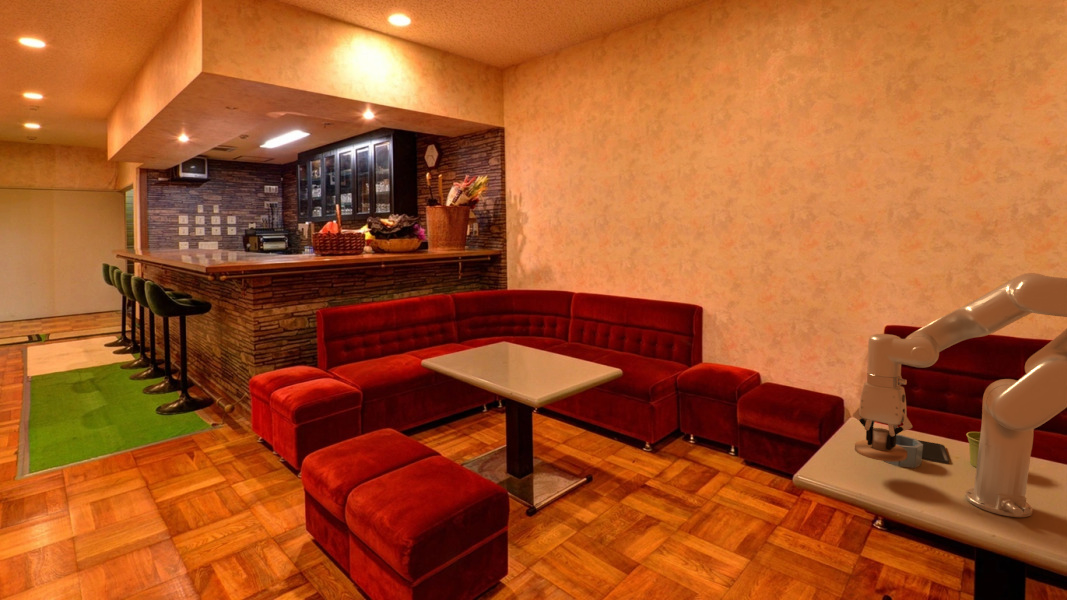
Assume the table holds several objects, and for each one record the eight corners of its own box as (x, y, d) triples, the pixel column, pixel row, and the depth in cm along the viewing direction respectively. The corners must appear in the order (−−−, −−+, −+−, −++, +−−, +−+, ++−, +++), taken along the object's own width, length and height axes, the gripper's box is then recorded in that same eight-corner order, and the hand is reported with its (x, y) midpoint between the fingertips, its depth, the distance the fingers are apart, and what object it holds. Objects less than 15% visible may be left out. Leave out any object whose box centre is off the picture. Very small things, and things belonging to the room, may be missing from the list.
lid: (915, 462, 138) (917, 439, 138) (864, 460, 141) (865, 437, 140) (894, 445, 150) (895, 423, 149) (847, 443, 152) (848, 422, 152)
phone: (944, 444, 167) (949, 461, 155) (943, 448, 168) (949, 465, 155) (913, 439, 172) (916, 455, 159) (913, 442, 172) (916, 459, 159)
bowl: (926, 468, 152) (928, 448, 151) (887, 465, 154) (889, 445, 153) (909, 454, 162) (911, 435, 161) (873, 451, 164) (874, 432, 163)
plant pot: (1013, 470, 151) (1016, 441, 150) (992, 476, 148) (996, 446, 146) (975, 457, 160) (979, 430, 158) (955, 462, 156) (958, 434, 155)
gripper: (925, 383, 139) (921, 451, 141) (855, 372, 152) (852, 434, 154) (915, 389, 134) (911, 459, 136) (843, 377, 147) (841, 441, 149)
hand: (880, 445), depth 145 cm, fingers closed on lid, 4 cm apart
